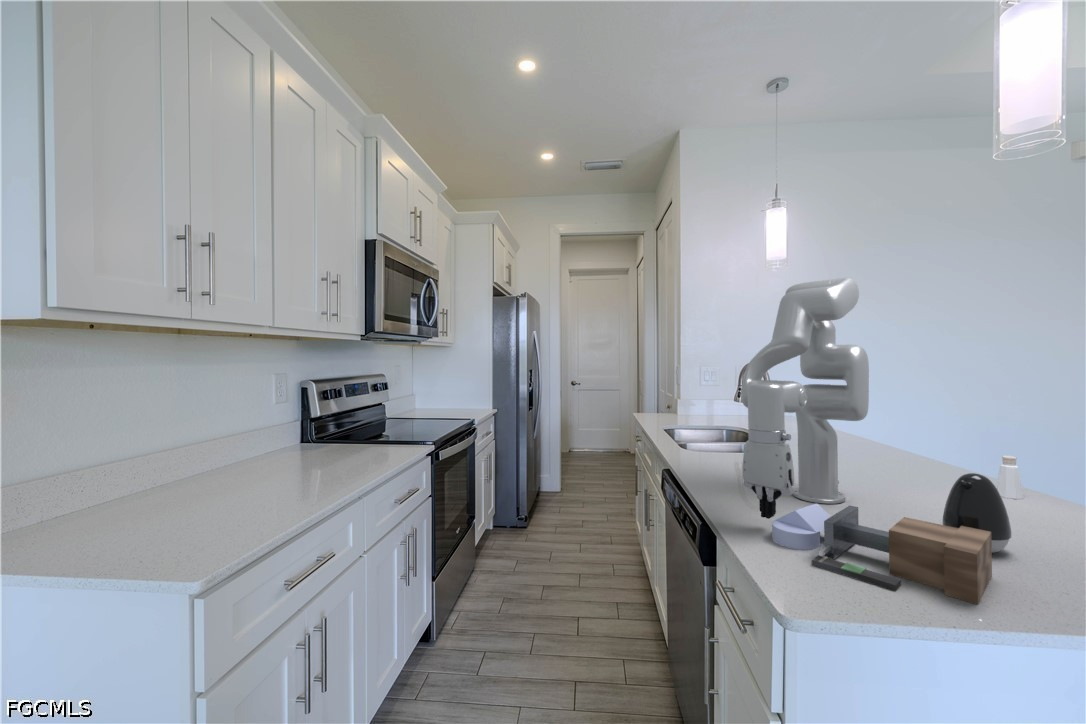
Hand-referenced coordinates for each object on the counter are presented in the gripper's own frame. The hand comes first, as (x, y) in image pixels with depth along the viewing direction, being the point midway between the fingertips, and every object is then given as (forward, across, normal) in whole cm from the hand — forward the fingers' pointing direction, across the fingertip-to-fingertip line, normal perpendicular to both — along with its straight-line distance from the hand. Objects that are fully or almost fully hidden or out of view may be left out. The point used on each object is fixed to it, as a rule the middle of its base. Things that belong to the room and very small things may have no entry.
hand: (767, 516), depth 105 cm
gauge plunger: (+3, -19, +2) cm, 20 cm away
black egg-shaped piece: (+3, -32, -21) cm, 38 cm away
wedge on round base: (+3, -7, 0) cm, 8 cm away
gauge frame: (+3, -25, +2) cm, 25 cm away
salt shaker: (+3, -32, -72) cm, 79 cm away
